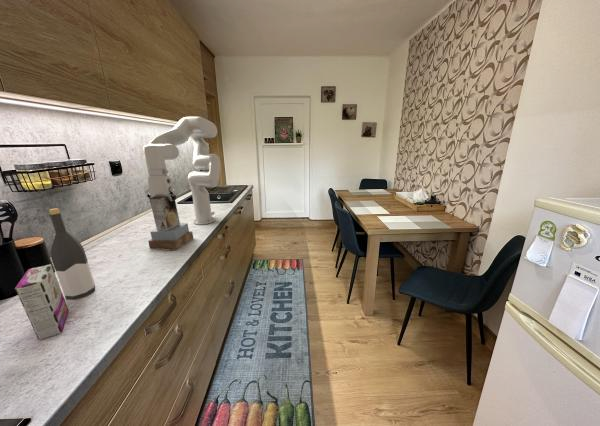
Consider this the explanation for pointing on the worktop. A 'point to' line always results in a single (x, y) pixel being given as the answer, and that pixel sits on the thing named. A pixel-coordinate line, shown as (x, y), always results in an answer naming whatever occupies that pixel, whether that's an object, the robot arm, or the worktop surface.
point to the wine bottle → (70, 261)
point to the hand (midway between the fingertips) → (164, 208)
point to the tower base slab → (171, 242)
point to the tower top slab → (170, 232)
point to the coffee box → (164, 213)
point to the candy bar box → (43, 301)
